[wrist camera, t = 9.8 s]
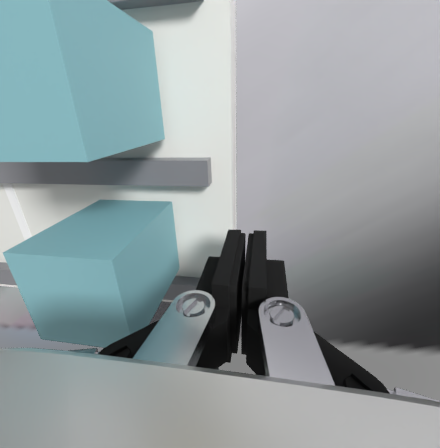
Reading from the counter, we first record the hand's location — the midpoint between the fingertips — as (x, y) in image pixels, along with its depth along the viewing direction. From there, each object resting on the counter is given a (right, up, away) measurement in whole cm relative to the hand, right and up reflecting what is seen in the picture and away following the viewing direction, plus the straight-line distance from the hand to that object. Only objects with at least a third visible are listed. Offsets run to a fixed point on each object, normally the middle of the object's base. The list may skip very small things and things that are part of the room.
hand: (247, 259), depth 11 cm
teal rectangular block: (-6, +1, +2) cm, 6 cm away
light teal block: (-6, +7, 0) cm, 9 cm away
